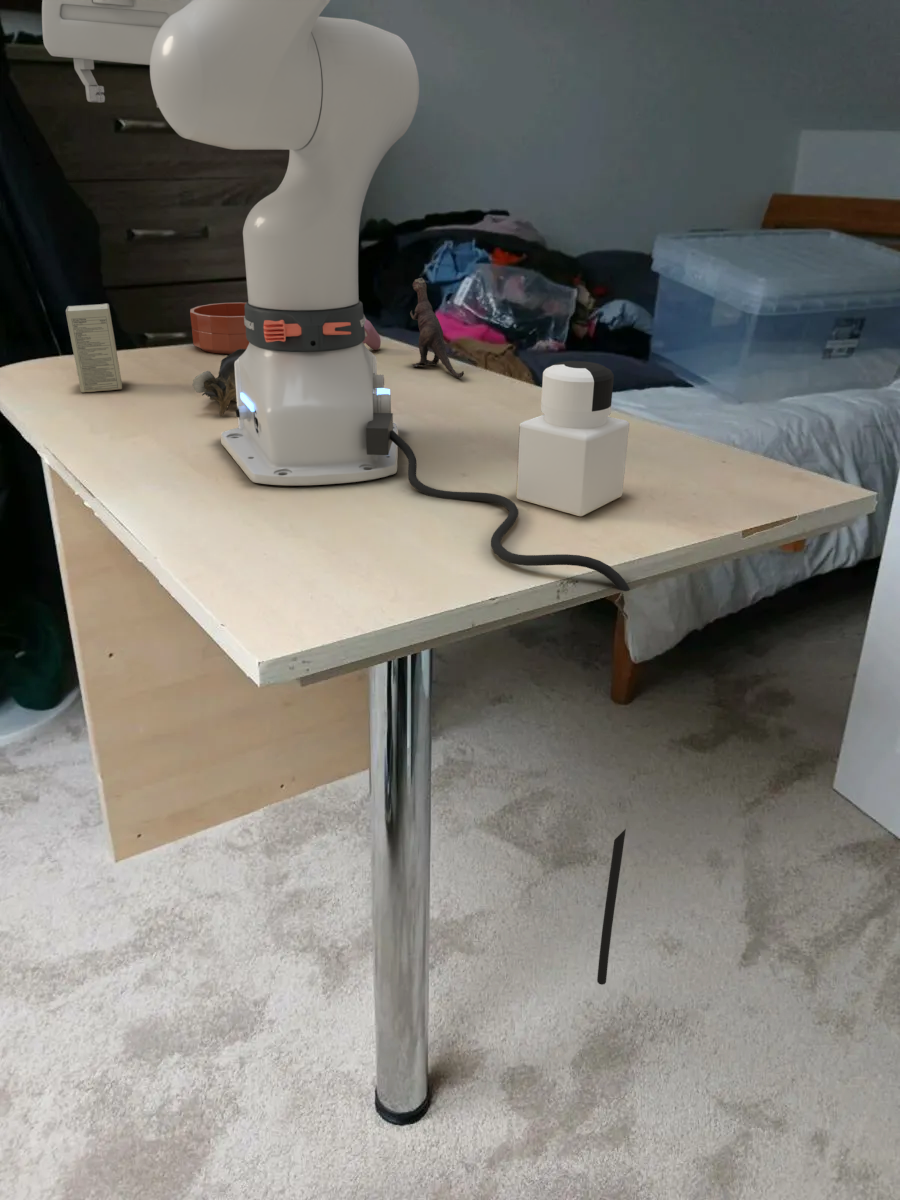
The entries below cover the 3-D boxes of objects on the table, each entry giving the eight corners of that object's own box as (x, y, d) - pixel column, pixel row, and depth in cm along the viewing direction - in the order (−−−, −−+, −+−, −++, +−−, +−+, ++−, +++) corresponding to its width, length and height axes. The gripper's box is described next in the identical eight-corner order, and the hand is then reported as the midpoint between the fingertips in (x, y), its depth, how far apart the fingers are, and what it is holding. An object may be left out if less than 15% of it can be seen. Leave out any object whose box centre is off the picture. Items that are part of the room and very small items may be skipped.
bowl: (284, 353, 141) (282, 315, 138) (193, 356, 138) (189, 318, 136) (278, 336, 152) (276, 301, 150) (194, 339, 149) (190, 303, 147)
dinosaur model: (421, 274, 132) (483, 295, 121) (422, 357, 138) (481, 384, 127) (396, 277, 130) (457, 299, 120) (398, 361, 136) (456, 389, 125)
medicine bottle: (558, 480, 90) (566, 353, 85) (623, 497, 86) (636, 364, 81) (514, 499, 85) (520, 365, 80) (581, 518, 81) (592, 378, 76)
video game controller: (315, 358, 145) (304, 320, 139) (325, 340, 147) (315, 301, 142) (375, 363, 142) (366, 324, 137) (384, 344, 145) (376, 305, 139)
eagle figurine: (270, 406, 109) (274, 374, 116) (230, 357, 105) (237, 327, 112) (218, 439, 111) (225, 406, 118) (176, 392, 107) (187, 361, 114)
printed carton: (122, 382, 123) (110, 302, 119) (122, 390, 119) (110, 308, 115) (79, 385, 122) (66, 304, 117) (78, 393, 118) (65, 310, 113)
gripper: (21, -37, 108) (39, 98, 115) (184, -26, 104) (193, 114, 111) (54, -33, 113) (70, 97, 120) (210, -21, 110) (217, 112, 117)
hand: (130, 105), depth 116 cm, fingers open, 8 cm apart
